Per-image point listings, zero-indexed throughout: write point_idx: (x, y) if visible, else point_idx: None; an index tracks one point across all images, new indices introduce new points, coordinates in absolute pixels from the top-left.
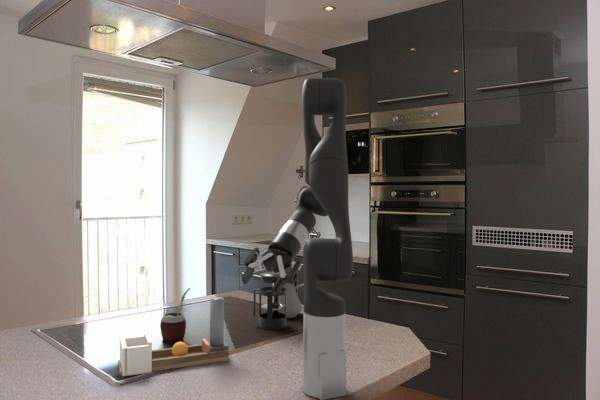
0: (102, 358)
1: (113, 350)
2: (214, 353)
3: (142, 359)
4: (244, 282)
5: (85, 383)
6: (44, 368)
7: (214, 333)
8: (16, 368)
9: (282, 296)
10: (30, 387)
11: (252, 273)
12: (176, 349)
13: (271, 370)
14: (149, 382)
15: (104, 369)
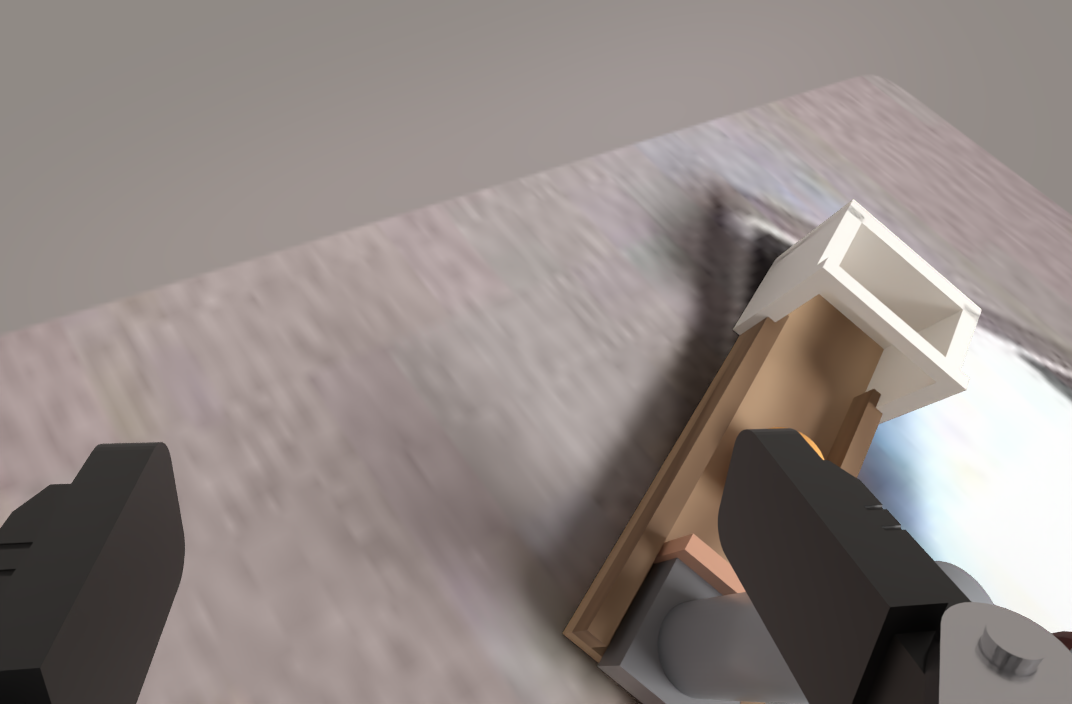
0: (972, 372)
1: (1029, 462)
2: (628, 556)
3: (785, 278)
4: (735, 477)
5: (806, 176)
6: (992, 231)
7: (728, 596)
8: (1034, 207)
9: None
10: (881, 116)
11: (835, 683)
12: (775, 428)
13: (222, 636)
14: (658, 246)
15: None
